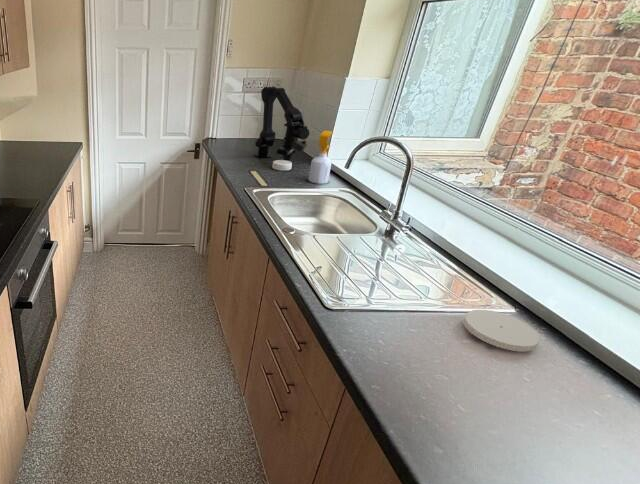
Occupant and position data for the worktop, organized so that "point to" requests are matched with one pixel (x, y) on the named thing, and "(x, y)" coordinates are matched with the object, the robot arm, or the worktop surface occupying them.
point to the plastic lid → (501, 330)
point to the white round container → (282, 165)
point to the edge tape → (258, 178)
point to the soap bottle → (321, 162)
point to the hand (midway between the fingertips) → (286, 163)
